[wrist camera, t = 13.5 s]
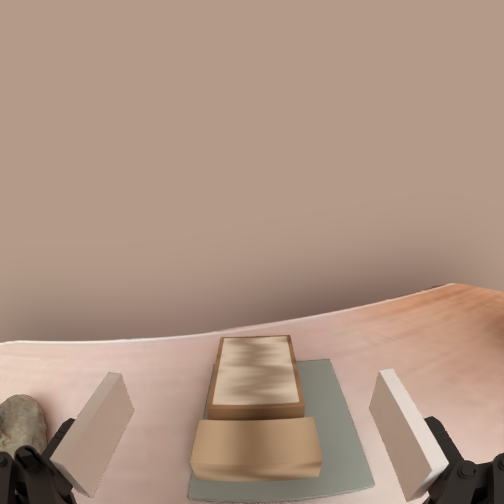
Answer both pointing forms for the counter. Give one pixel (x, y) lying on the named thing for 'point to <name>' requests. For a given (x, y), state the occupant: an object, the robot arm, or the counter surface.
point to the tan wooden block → (256, 450)
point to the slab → (255, 380)
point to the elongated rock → (22, 424)
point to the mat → (331, 443)
